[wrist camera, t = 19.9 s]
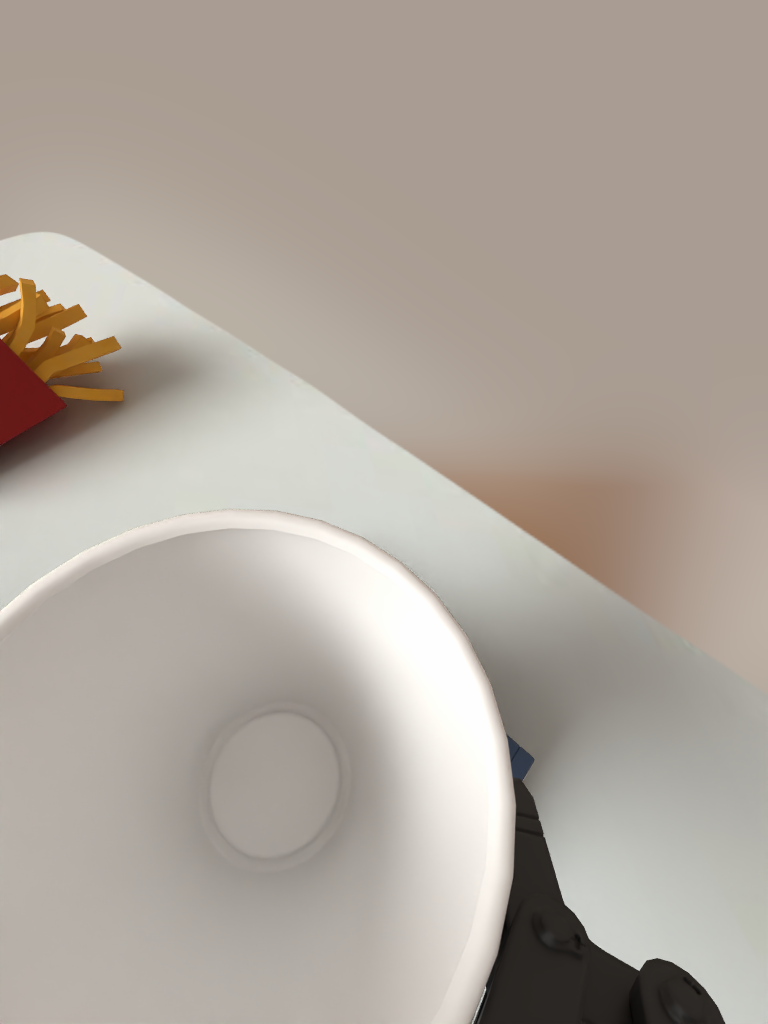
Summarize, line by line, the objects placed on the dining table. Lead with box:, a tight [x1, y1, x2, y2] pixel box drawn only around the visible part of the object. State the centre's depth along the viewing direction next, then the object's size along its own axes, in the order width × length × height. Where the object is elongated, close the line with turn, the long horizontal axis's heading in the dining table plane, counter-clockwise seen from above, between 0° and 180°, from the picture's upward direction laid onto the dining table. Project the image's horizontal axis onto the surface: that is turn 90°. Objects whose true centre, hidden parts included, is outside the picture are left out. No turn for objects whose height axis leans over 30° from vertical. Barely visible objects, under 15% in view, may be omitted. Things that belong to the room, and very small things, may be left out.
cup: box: [0, 509, 516, 1024], centre depth 12 cm, size 10×10×11 cm
